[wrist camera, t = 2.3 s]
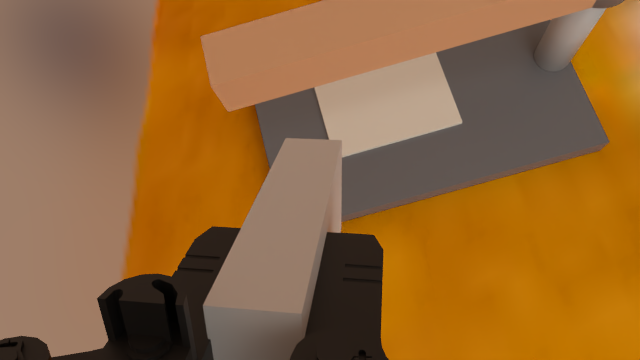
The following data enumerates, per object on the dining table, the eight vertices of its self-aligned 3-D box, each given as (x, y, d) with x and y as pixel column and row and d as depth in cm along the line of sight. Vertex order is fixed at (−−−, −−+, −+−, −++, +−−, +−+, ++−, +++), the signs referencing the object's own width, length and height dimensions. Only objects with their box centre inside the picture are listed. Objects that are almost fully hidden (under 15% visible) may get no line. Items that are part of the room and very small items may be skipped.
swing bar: (615, -55, 28) (642, -99, 25) (645, -3, 27) (676, -43, 24) (217, 61, 29) (199, 31, 26) (229, 116, 28) (211, 91, 25)
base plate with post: (525, -14, 38) (566, -115, 30) (602, 149, 34) (676, 86, 25) (248, 66, 39) (211, -10, 31) (288, 236, 35) (258, 203, 26)
